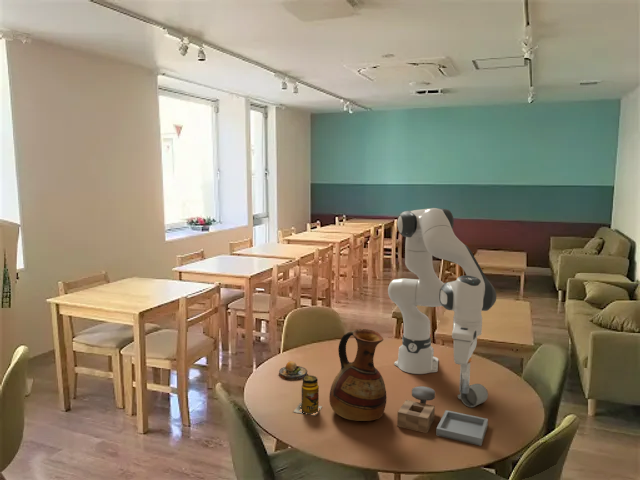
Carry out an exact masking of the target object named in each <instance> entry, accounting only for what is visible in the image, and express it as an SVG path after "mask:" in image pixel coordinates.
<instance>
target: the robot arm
mask: <svg viewBox="0 0 640 480" xmlns="http://www.w3.org/2000/svg"><path fill="white" fill-rule="evenodd" d="M454 224H455V223H454V215H453V212H451V210H449V209H447V208H436V207H431V208H423V209H415V210H414V209H413V210H405V211H402V212H401V213H400V214H399V215H398V217H397V222H396V225H397V230H398V232H399V233H398V234H400V235H401V236H402V237H404V238H405V244H404V245H405V247H404V248H405V249H404V250H405V251H404V252H405V253H404V261H405V262H404V264H405V267H406V269H408V271H409V272H411V273H413V274H414V275H416V277H418V279H416V278H405V277H403V278H394V279H393V280H391V281H390V283H389V285H388V287H387V295H388V297H389V299H390V300H391V302H393V303H394V304H395V305H396V306H397V307H398V309H399V311H400V312H401V316H402V319H403V335H402V338H401V339H402V340H401V341H402V342H401V343H402V344H401V345H400V346H399V347H398V354H397V357H398V358H397V360H396V361H394V366H397V368H398V369H400V370H401V371H403V372H406V373H408V374H413V375H424V374H431V373H437V372H438V369H439V357H436V356H434V354H435V353H434V352H435V351H434V347H433V346H432V340H431V338H432V334H431V321H430V318H429V316H428V315H427V314H425V313H423V312H421V311H420V310H419V308H418V307H417V306H420V307H429V308H431V307H432V308H434V307H435V308H436V307H442V308H444V309H445V310H448V311H453V312H454V313H453V319H452V320H453V321H452V332H451V338H452V339H453V361H454V363H455V365H460V367H461V371H462V372H466V371H467V363H468V361H469V359H470V357H471V358H472V355H473V353H474V352H475V349H476V348H477V343H478V341H477V340H478V337H480V336H481V335H482V330H483V316H482V312H488V311H489V310H490V309H491V308H492V307H493V306H494V305H495V303H497V292H496V289H495V287H494V285H493V284H492V283H491V282H490V280H489V279H488V278H487V276H486V275H485V273H484V271H483V270H482V268H481V266H480V264H479V262H478V260H477V259H476V257H475V256H474V253H473V252H472V250H471V249H470V247H469V246H468V245H466V244H465V243H463V241H461V240H460V239H459V237H457V236H456V234H455V232H454V230H453V228H454ZM433 257H435V258H437V259H440V260H444V261H448V262H451V263H454V264H456V265H458V266H460V267H461V268H462V269H463V272H464V273H465V275H461V276H458V277H457V278H456V280H453V281H449V282H443V281H442V280H441V279H440V278H439V276H438V275H437V274H436V271H435V269H434V263H433Z"/></svg>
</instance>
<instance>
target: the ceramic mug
mask: <svg viewBox="0 0 640 480" xmlns="http://www.w3.org/2000/svg"><path fill="white" fill-rule="evenodd" d="M488 397H489V393H488V389H487V388H486V387H485V386H484V384H480V383H474V384H469V393H467V394H464V393H461V392H459V394H457V398H458V400H461V402H462V404H463V405H465V406H467V407H468V408H475V407H476V406H478V405H480V404H483V403H485V402H486V401H487V399H488Z"/></svg>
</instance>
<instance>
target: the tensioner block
mask: <svg viewBox="0 0 640 480" xmlns="http://www.w3.org/2000/svg"><path fill="white" fill-rule="evenodd" d="M411 396H412V398H414V399H415V400H418V401H419V402H417V401H413V400H408V399H406V400H405V401H404V402H403V404H402V405H401V407H400V408H399V409H398V411H397V417H396V419H397V421H396V424H397V425H396V426H397V427H400V428H403V429H408V430H410V431H412V430H413V431H416V432H421V433H425V434H427V433H428V432H429V431H430V428H431V426H432V425H433V423H434V421H435V410H436V409H435V405H433V404H432V405H431V404H428V403H427V401H433V400H434V399H435V398H436V391H435V389H433V388H431V387H429V386H423V385H422V386H421V385H420V386H415V387H413V388H412V389H411Z"/></svg>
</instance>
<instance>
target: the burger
mask: <svg viewBox="0 0 640 480" xmlns="http://www.w3.org/2000/svg"><path fill="white" fill-rule="evenodd" d="M278 375H279V377H280V378H282V379H283V380H287V381H288V380H289V381H297V380H296V379H299V380H303V378H304V377H305V376H308V370H307V368H305V367H304V366H300V365H297V363H296V361H295V362H294V361H291V360H289V361H288V362H286V365H285V367H281V368H280V369H279V371H278Z"/></svg>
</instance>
